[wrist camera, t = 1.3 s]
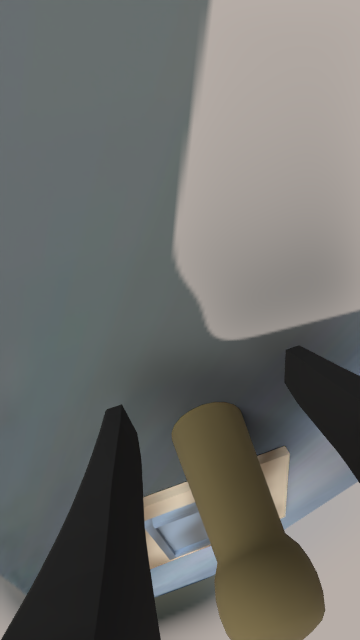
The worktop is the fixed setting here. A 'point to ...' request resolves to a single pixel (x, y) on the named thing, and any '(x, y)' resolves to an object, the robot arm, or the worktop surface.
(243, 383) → the worktop surface
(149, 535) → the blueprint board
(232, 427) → the cork
